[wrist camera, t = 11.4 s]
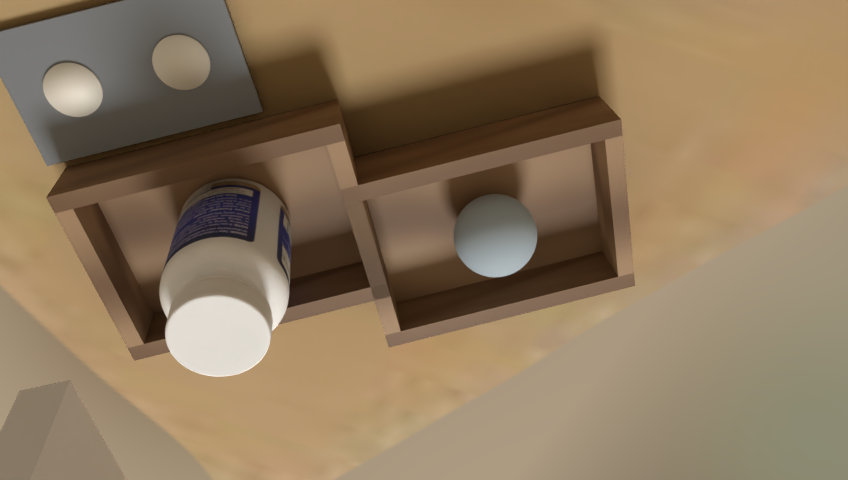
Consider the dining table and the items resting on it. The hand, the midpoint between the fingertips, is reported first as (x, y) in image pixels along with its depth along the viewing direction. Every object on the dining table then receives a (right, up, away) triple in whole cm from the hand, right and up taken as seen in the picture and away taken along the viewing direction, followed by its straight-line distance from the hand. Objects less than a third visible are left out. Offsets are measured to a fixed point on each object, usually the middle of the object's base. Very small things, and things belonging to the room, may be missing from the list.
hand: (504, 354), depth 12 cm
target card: (-14, +9, +21) cm, 27 cm away
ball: (+2, +3, +26) cm, 26 cm away
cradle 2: (+2, +3, +27) cm, 27 cm away
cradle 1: (-10, +3, +25) cm, 27 cm away
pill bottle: (-10, +3, +25) cm, 27 cm away
